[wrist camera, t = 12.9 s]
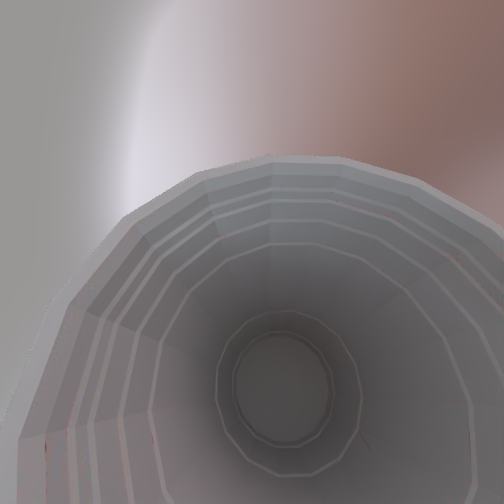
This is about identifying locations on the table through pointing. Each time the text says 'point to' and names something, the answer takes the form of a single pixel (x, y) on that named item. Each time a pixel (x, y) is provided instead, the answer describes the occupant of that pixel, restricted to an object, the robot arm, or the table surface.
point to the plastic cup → (272, 349)
